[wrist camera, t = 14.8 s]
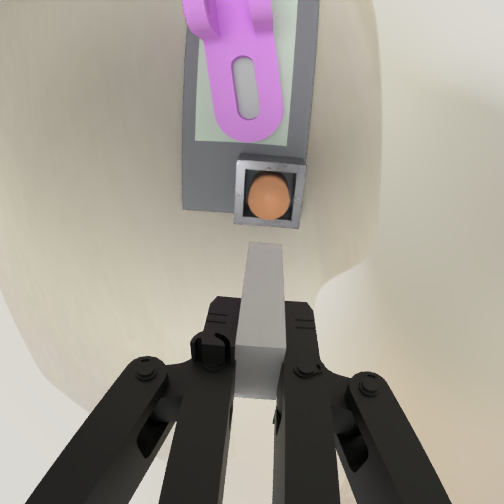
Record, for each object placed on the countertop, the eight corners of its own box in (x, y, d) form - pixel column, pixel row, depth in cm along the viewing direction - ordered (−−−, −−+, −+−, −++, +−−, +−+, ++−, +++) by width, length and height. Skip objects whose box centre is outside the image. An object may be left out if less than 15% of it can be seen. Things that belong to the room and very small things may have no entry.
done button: (252, 167, 27) (249, 179, 24) (289, 170, 27) (291, 182, 24) (250, 201, 29) (246, 218, 25) (285, 204, 29) (287, 221, 25)
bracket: (201, 6, 21) (179, -18, 15) (267, -4, 20) (265, -32, 14) (222, 143, 27) (206, 160, 21) (286, 136, 26) (290, 150, 20)
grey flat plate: (191, -8, 20) (190, -10, 20) (318, -4, 20) (319, -5, 20) (183, 208, 30) (182, 210, 30) (298, 216, 30) (299, 219, 30)
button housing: (240, 152, 27) (236, 159, 25) (303, 158, 27) (306, 165, 24) (237, 210, 30) (233, 223, 27) (296, 215, 30) (298, 229, 27)
